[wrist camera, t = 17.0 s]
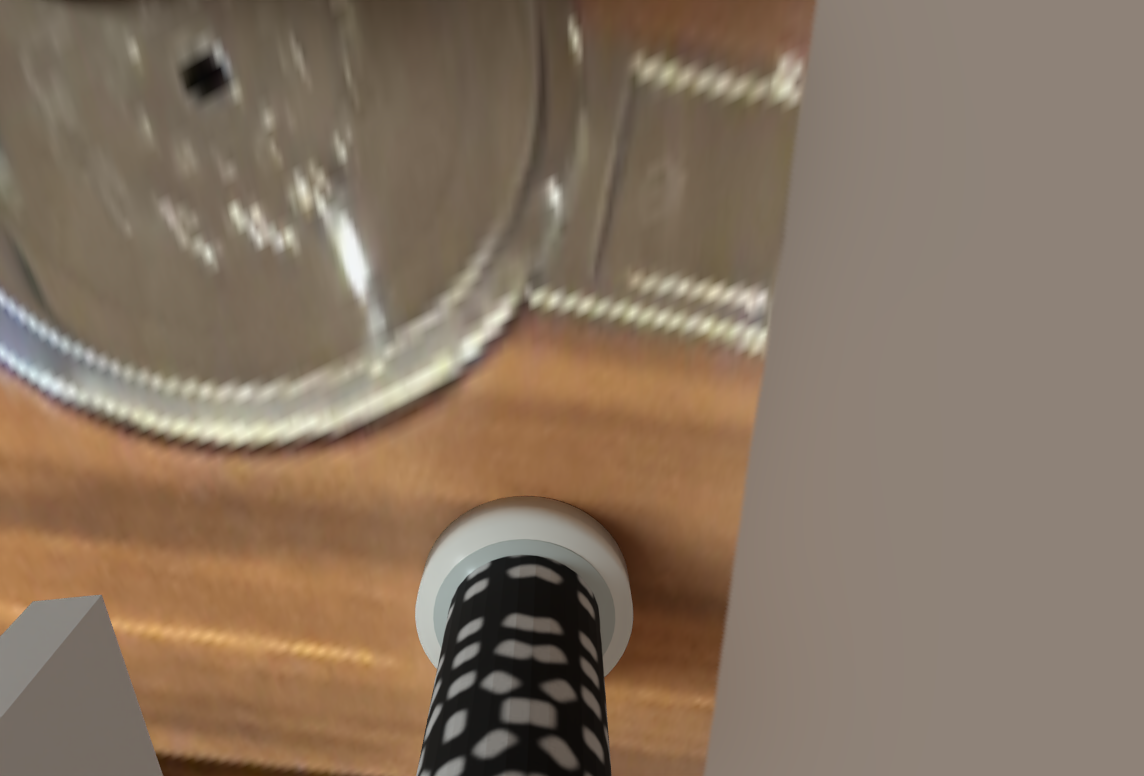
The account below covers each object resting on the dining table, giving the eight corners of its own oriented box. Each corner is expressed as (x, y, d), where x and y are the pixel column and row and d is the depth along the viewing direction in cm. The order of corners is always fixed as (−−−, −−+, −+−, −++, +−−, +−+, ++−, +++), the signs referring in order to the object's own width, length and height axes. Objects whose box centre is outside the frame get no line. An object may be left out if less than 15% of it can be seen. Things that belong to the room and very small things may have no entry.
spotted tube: (417, 605, 49) (331, 946, 30) (541, 527, 48) (531, 836, 29) (508, 706, 52) (479, 1079, 33) (629, 635, 50) (671, 984, 31)
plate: (440, 682, 55) (434, 718, 52) (406, 507, 51) (397, 536, 48) (637, 662, 55) (641, 697, 52) (619, 485, 50) (623, 512, 47)
